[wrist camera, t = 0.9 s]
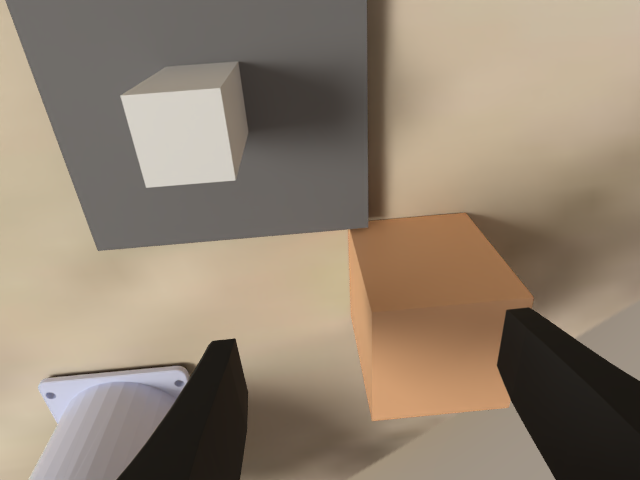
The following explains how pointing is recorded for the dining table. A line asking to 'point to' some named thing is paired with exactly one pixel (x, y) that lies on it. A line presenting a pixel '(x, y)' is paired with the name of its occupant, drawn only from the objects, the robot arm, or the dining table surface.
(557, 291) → the dining table surface
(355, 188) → the post board
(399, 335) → the peach tan brick
